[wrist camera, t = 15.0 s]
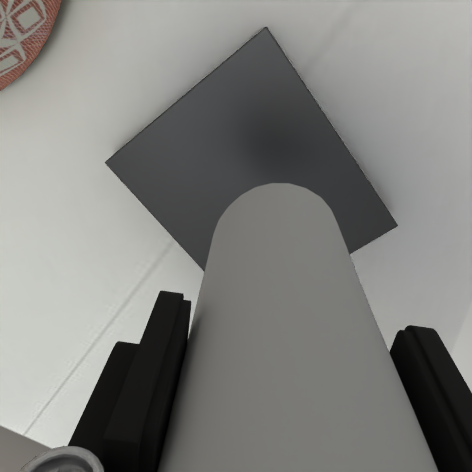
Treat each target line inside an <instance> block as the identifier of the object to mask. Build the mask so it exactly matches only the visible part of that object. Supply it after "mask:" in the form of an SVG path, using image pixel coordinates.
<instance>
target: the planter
mask: <svg viewBox="0 0 472 472" xmlns="http://www.w3.org/2000/svg"><path fill="white" fill-rule="evenodd" d="M60 4H61V0H0V91H1V90H2V89H4V88H5V87H6V86H7V85H9V84H10V83H11V82H13V81H14V80H15V79H17V78H18V77H19V76H20V75H21V74H22V73H23V72H24V71H25V70H26V69H27V67H28V66H29V65H30V64H31V63H32V62H33V60H34V59H35V58H36V57H37V55H38V54H39V52H40V50H41V49H42V47H43V45H44V43H45V42H46V40H47V38H48V36H49V35H50V32H51V30H52V27H53V24H54V21H55V19H56V16H57V13H58V11H59V8H60Z"/></svg>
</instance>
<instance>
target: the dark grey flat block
mask: <svg viewBox="0 0 472 472" xmlns="http://www.w3.org/2000/svg"><path fill="white" fill-rule="evenodd" d="M105 163H106V165H107V166H108V167H109V168H110V169H111V170H112V171H113V172H114V173H115V174H116V175H117V177H118V178H119V179H120V180H121V181H122V182H123V183H124V184H125V185H126V186H127V188H128V189H129V190H130V191H131V192H132V193H133V194H134V195H135V196H136V197H137V198H138V200H139V201H140V202H141V203H142V204H143V205H144V206H145V207H146V208H147V209H148V210H149V212H150V213H151V214H152V215H153V216H154V217H155V218H156V219H157V220H158V221H159V222H160V224H161V225H162V226H163V227H164V228H165V229H166V230H167V231H168V232H169V233H170V235H171V236H172V237H173V238H174V239H175V240H176V241H177V242H178V243H179V244H180V245H181V247H182V248H183V249H184V250H185V251H186V252H187V253H188V254H189V255H190V256H191V257H192V259H193V260H194V261H195V262H196V263H197V264H198V265H199V266H200V267H201V268H202V269H203V271H204V272H205V268H206V264H207V260H208V255H209V251H210V247H211V243H212V238H213V234H214V232H215V229H216V226H217V223H218V221H219V219H220V218H221V216H222V215H223V213H224V212H225V211H226V209H227V208H228V206H229V205H231V204H232V203H233V202H234V201H235V200H236V199H237V198H238V197H239V196H241V195H242V194H244V193H246V192H248V191H249V190H251V189H253V188H255V187H258V186H262V185H266V184H270V183H290V184H293V185H297V186H300V187H303V188H307V189H308V190H310V191H311V192H313V193H315V194H316V195H318V196H320V197H321V198H322V199H323V200H324V201H325V203H326V204H327V205H328V206H329V207H330V209H331V210H332V212H333V215H334V217H335V219H336V221H337V224H338V226H339V229H340V231H341V234H342V236H343V239H344V242H345V244H346V247H347V249H348V252H349V254H351V253H352V252H354V251H356V250H358V249H359V248H361V247H363V246H364V245H366V244H368V243H370V242H371V241H373V240H375V239H376V238H378V237H380V236H381V235H383V234H385V233H387V232H388V231H390V230H392V229H393V228H395V227H397V226H398V225H397V223H396V222H395V220H394V219H393V217H392V216H391V214H390V213H389V211H388V210H387V208H386V207H385V205H384V204H383V202H382V201H381V199H380V198H379V196H378V195H377V193H376V192H375V190H374V188H373V187H372V185H371V184H370V182H369V181H368V179H367V178H366V176H365V175H364V173H363V172H362V170H361V169H360V167H359V166H358V164H357V163H356V161H355V160H354V158H353V157H352V155H351V154H350V152H349V151H348V149H347V148H346V146H345V145H344V143H343V142H342V140H341V139H340V137H339V136H338V134H337V133H336V131H335V130H334V128H333V127H332V125H331V124H330V122H329V121H328V119H327V117H326V116H325V114H324V113H323V111H322V110H321V108H320V107H319V105H318V104H317V102H316V101H315V99H314V98H313V96H312V95H311V93H310V92H309V90H308V89H307V87H306V86H305V84H304V83H303V81H302V80H301V78H300V77H299V75H298V74H297V72H296V71H295V69H294V68H293V66H292V65H291V63H290V62H289V60H288V59H287V57H286V56H285V54H284V53H283V51H282V50H281V48H280V46H279V45H278V43H277V42H276V40H275V39H274V37H273V36H272V34H271V33H270V31H269V30H268V28H267V27H265V28H263V29H262V30H261V31H260V32H259V33H258V34H256V35H255V36H254V37H253V38H252V39H250V40H249V41H248V42H247V43H246V44H245V45H243V46H242V47H241V48H240V49H239V50H237V51H236V52H235V53H234V54H233V55H231V56H230V57H229V58H228V59H227V60H226V61H224V62H223V63H222V64H221V65H220V66H218V67H217V68H216V69H215V70H214V71H212V72H211V73H210V74H209V75H208V76H207V77H205V78H204V79H203V80H202V81H201V82H199V83H198V84H197V85H196V86H195V87H194V88H192V89H191V90H190V91H189V92H188V93H186V94H185V95H184V96H183V97H182V98H180V99H179V100H178V101H177V102H176V103H175V104H173V105H172V106H171V107H170V108H169V109H167V110H166V111H165V112H164V113H163V114H161V115H160V116H159V117H158V118H157V119H156V120H154V121H153V122H152V123H151V124H150V125H148V126H147V127H146V128H145V129H144V130H143V131H141V132H140V133H139V134H138V135H137V136H135V137H134V138H133V139H132V140H131V141H129V142H128V143H127V144H126V145H125V146H124V147H122V148H121V149H120V150H119V151H118V152H116V153H115V154H114V155H113V156H112V157H111V158H109V159H108V160H107V161H106V162H105Z"/></svg>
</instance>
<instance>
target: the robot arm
mask: <svg viewBox="0 0 472 472" xmlns="http://www.w3.org/2000/svg"><path fill="white" fill-rule="evenodd" d="M183 298H184V296H183V294H181V293H174V292H167V291H160V293H159V295H158V298H157V300H156V303H155V305H154V308H153V310H152V313H151V316H150V318H149V321H148V323H147V326H146V328H145V331H144V334H143V336H142V339H141V341H140V344H134V343H127V342H120V341H118V342H117V343H116V344H115V346H114V348H113V350H112V352H111V354H110V356H109V358H108V360H107V363H106V365H105V367H104V369H103V371H102V373H101V375H100V378H99V380H98V382H97V384H96V386H95V388H94V390H93V393H92V395H91V397H90V399H89V401H88V403H87V405H86V408H85V410H84V412H83V414H82V416H81V418H80V420H79V423H78V425H77V427H76V429H75V431H74V433H73V435H72V438H71V440H70V442H69V444H68V446H62V447H58V448H53V449H49V450H48V451H45V452H43V453H41V454H39V455H37V456H35V457H34V458H33V459H32V460H31V461H29V462H28V463H27V464H26V465H24V466H23V467H22V469H21V470H20V471H19V472H157V468H158V464H159V460H160V456H161V451H162V447H163V443H164V439H165V435H166V430H167V426H168V422H169V418H170V414H171V409H172V405H173V401H174V397H175V393H176V388H177V384H178V380H179V376H180V372H181V367H182V363H183V359H184V355H185V351H186V347H187V342H188V331H189V321H190V311H191V301H188V300H183ZM389 353H390V356H391V358H392V360H393V363H394V365H395V368H396V370H397V372H398V375H399V377H400V379H401V382H402V384H403V386H404V389H405V391H406V394H407V396H408V398H409V401H410V403H411V405H412V408H413V410H414V413H415V415H416V417H417V420H418V422H419V425H420V427H421V430H422V432H423V435H424V437H425V439H426V442H427V444H428V447H429V449H430V452H431V454H432V457H433V459H434V462H435V464H436V466H437V469H438V471H439V472H472V393H471V391H470V389H469V388H468V386H467V384H466V382H465V381H464V379H463V377H462V375H461V374H460V372H459V370H458V368H457V367H456V365H455V363H454V361H453V360H452V358H451V356H450V354H449V353H448V351H447V349H446V347H445V346H444V344H443V342H442V340H441V339H440V337H439V335H438V333H437V332H436V331H435V330H434V329H432V328H426V327H419V326H412V325H409V326H407V327H406V328H405V330H399V331H398V333H397V334H396V337H395V340H394V342H393V345H392V347H391V350H390V352H389Z"/></svg>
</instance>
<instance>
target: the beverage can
mask: <svg viewBox="0 0 472 472" xmlns="http://www.w3.org/2000/svg"><path fill="white" fill-rule="evenodd" d="M157 472H439V471H438V469H437V466H436V464H435V462H434V459H433V457H432V454H431V452H430V449H429V447H428V444H427V442H426V439H425V437H424V435H423V432H422V430H421V427H420V425H419V422H418V420H417V417H416V415H415V413H414V410H413V408H412V405H411V403H410V401H409V398H408V396H407V394H406V391H405V389H404V386H403V384H402V382H401V379H400V377H399V375H398V372H397V370H396V368H395V365H394V363H393V360H392V358H391V356H390V353H389V351H388V349H387V346H386V344H385V341H384V339H383V337H382V334H381V332H380V330H379V327H378V325H377V322H376V320H375V318H374V315H373V313H372V310H371V308H370V305H369V303H368V300H367V298H366V295H365V293H364V290H363V288H362V285H361V283H360V280H359V278H358V275H357V273H356V270H355V267H354V265H353V262H352V260H351V257H350V255H349V252H348V249H347V247H346V244H345V242H344V239H343V236H342V234H341V231H340V229H339V226H338V224H337V221H336V219H335V217H334V215H333V212H332V210H331V209H330V207H329V206H328V205H327V204H326V203H325V201H324V200H323V199H322V198H321V197H320V196H318V195H316V194H315V193H313V192H311V191H310V190H308V189H307V188H303V187H300V186H297V185H293V184H290V183H270V184H266V185H262V186H258V187H255V188H253V189H251V190H249V191H248V192H246V193H244V194H242V195H241V196H239V197H238V198H237V199H236V200H235V201H234V202H233V203H232V204H231V205H229V206H228V208H227V209H226V211H225V212H224V213H223V215H222V216H221V218H220V219H219V221H218V223H217V226H216V229H215V232H214V234H213V238H212V243H211V247H210V251H209V255H208V260H207V264H206V268H205V272H204V276H203V280H202V284H201V288H200V292H199V297H198V301H197V305H196V309H195V313H194V317H193V321H192V325H191V329H190V334H189V338H188V342H187V347H186V351H185V355H184V359H183V363H182V367H181V372H180V376H179V380H178V384H177V388H176V393H175V397H174V401H173V405H172V409H171V414H170V418H169V422H168V426H167V430H166V435H165V439H164V443H163V447H162V451H161V456H160V460H159V464H158V468H157Z"/></svg>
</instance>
